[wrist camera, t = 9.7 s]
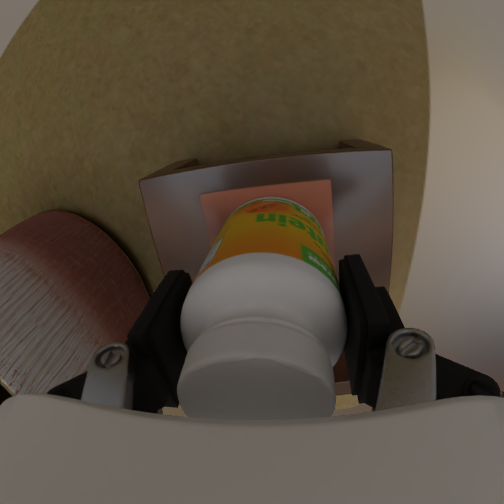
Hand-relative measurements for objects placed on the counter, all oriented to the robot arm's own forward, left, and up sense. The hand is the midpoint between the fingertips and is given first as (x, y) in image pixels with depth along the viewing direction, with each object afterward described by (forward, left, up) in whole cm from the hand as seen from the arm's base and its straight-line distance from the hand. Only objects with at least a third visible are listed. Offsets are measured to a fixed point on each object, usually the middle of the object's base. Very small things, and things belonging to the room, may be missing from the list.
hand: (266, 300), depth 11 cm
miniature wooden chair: (+2, 0, -11) cm, 11 cm away
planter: (+6, -20, -11) cm, 24 cm away
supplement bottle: (0, 0, -5) cm, 5 cm away
